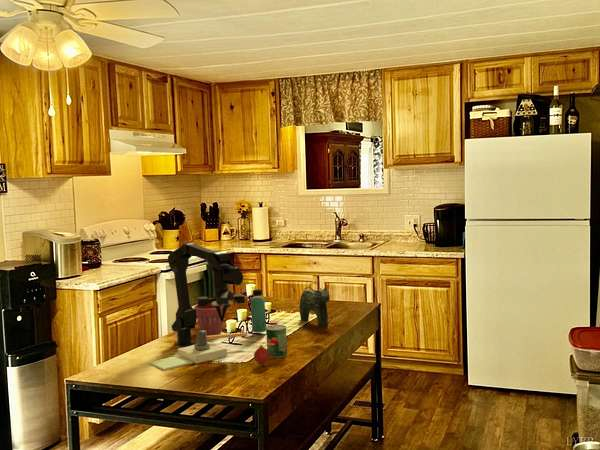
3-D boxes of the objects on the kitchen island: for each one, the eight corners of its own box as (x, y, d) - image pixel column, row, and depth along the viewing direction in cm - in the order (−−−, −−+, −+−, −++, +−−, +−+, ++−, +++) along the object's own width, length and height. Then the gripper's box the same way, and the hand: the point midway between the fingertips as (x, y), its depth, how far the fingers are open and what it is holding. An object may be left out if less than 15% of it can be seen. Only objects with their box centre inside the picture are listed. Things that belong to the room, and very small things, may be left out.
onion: (254, 364, 246) (253, 343, 245) (269, 363, 246) (268, 342, 246) (254, 368, 240) (253, 347, 240) (270, 367, 241) (269, 346, 240)
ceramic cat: (332, 325, 302) (330, 282, 300) (320, 328, 298) (319, 284, 297) (307, 318, 318) (305, 277, 317) (296, 320, 315) (294, 279, 313)
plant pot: (206, 338, 287) (204, 309, 286) (189, 333, 297) (187, 305, 296) (233, 332, 296) (231, 304, 295) (215, 327, 307) (214, 300, 305)
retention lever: (198, 340, 264) (198, 337, 264) (198, 339, 266) (197, 336, 266) (247, 336, 269) (247, 333, 269) (246, 334, 271) (246, 332, 271)
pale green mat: (149, 363, 252) (149, 362, 252) (177, 357, 259) (177, 355, 259) (163, 370, 242) (163, 368, 242) (192, 363, 250) (192, 361, 250)
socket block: (178, 356, 261) (177, 344, 260) (208, 349, 269) (208, 338, 269) (195, 363, 250) (195, 351, 249) (227, 355, 258) (226, 344, 258)
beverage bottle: (264, 336, 287) (262, 291, 286) (250, 335, 289) (248, 291, 287) (268, 332, 294) (266, 288, 292) (254, 332, 295) (252, 288, 293)
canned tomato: (290, 352, 260) (289, 325, 259) (283, 358, 253) (282, 330, 252) (271, 351, 263) (270, 324, 262) (264, 356, 255) (262, 329, 254)
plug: (192, 356, 260) (190, 331, 259) (205, 353, 264) (204, 328, 263) (199, 359, 255) (198, 334, 254) (213, 356, 259) (211, 331, 258)
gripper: (198, 288, 252) (199, 327, 253) (246, 284, 256) (247, 323, 257) (196, 283, 262) (197, 321, 264) (242, 280, 267) (243, 317, 268)
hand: (221, 321), depth 263 cm, fingers closed
